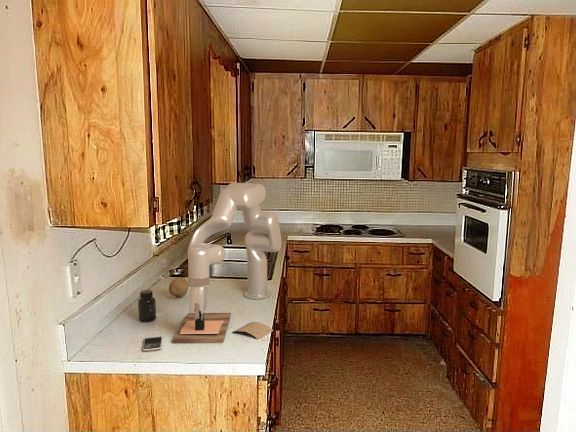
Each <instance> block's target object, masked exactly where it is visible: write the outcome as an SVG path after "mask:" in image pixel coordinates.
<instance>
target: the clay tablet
mask: <svg viewBox="0 0 576 432" xmlns="http://www.w3.org/2000/svg"><path fill="white" fill-rule="evenodd" d="M233 332H234V333H235V332H243V333H244V332H246V334H247V333H248V334H250V335H252V336H253V337H255V338H256V340H261V339H263V338H264V337H265V336H267V335H269V334H270V333H273V332H274V329H273V328H272V327H271V326H269V325H268V324H264V323H261V322H259V321H251V322H247V323H246V324H245V325H243V326H241V327H239V328H237V329H235V330H233V331H232V333H233Z"/></svg>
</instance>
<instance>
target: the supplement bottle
mask: <svg viewBox="0 0 576 432" xmlns="http://www.w3.org/2000/svg"><path fill="white" fill-rule="evenodd" d="M153 295H154V294H153V290H152V289H145V290H141V291H140V292H139V297H140V298H138V300H137V313H138V321H139V322H140V323H150V322H151V323H152V322H154V321H155V320H156V319H157V308H156V307H157V306H156V305H157V304H156V303H157V302H156V298H155V297H154V296H153Z"/></svg>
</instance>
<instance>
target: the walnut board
mask: <svg viewBox="0 0 576 432" xmlns="http://www.w3.org/2000/svg"><path fill="white" fill-rule="evenodd" d="M231 318H232V313H231V312H204V318H203V319H204V321H223V324H222V326H221V329H220V331H219V333H213V334H180V331H181V329H182V328H183V326H184V325H185V323H186V322H187V321H195V312H193V314H190V312H188V313H187V314H186V315H185V318H184V320H183V321H182V324H181V325H180V327H179V328H178V330H177V332H176V333H175V336H174V337H173V340H172V343H173V344H224V342H225V338H226V334H227V331H228V328H229V325H230V321H231Z"/></svg>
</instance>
